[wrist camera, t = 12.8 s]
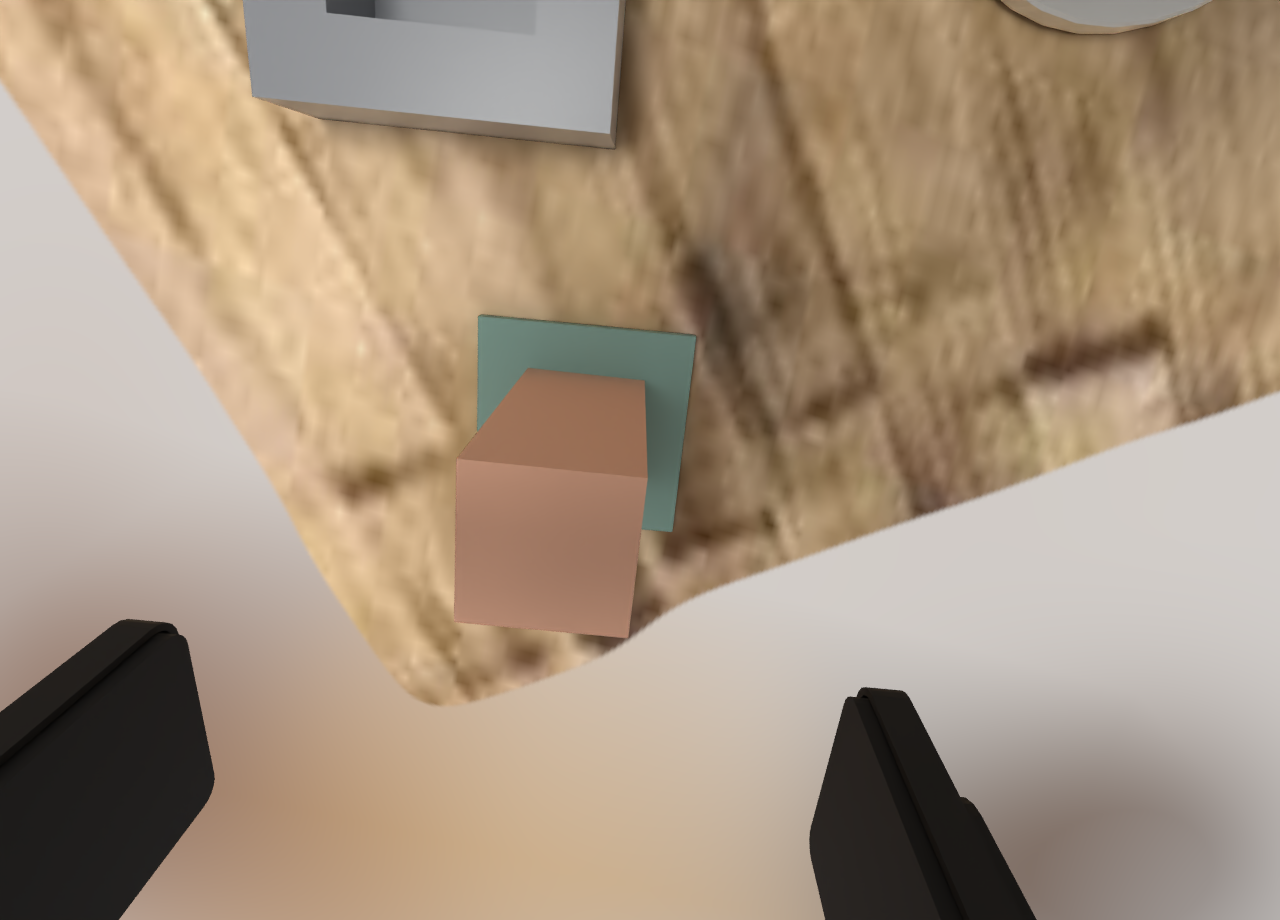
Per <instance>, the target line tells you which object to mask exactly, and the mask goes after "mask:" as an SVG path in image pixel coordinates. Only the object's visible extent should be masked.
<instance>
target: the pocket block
mask: <svg viewBox="0 0 1280 920" xmlns="http://www.w3.org/2000/svg"><path fill="white" fill-rule="evenodd" d="M625 6H626V0H243V7H244V17H245V27H246V38H247V48H248V58H249V68H250V78H251V88H252V97H255V98H258V99H261V100H264V101H267V102H270V103H273V104H276V105H279V106H282V107H285V108H288V109H291V110H294V111H297V112H300V113H303V114H306V115H309V116H312V117H315V118H318V119H326V120H336V121H345V122H355V123H365V124H374V125H384V126H394V127H403V128H413V129H423V130H432V131H442V132H452V133H461V134H471V135H481V136H490V137H500V138H510V139H519V140H529V141H538V142H548V143H558V144H567V145H577V146H587V147H596V148H606V149H615V143H616V130H617V116H618V102H619V89H620V75H621V61H622V47H623V34H624V20H625Z"/></svg>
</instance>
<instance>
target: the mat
mask: <svg viewBox="0 0 1280 920" xmlns="http://www.w3.org/2000/svg"><path fill="white" fill-rule="evenodd" d="M695 343H696V335H693V334H682V333H671V332H661V331H650V330H640V329H629V328H619V327H608V326H598V325H587V324H576V323H566V322H555V321H545V320H534V319H524V318H513V317H502V316H492V315H480V316H478V401H477V432H478V431H479V429H480V428H481V427H482V426H483V424H484V423H485V422H486V420H487V419H488V418H489V417H490V415H491V414H492V413H493V412H494V410H495V409H496V408H497V406H498V405H499V404H500V403H501V401H502V400H503V399H504V398H505V396H506V395H507V394H508V392H509V391H510V390H511V389H512V387H513V386H514V385H515V384H516V382H517V381H518V380H519V378H520V377H521V376H522V375H523V373H524V372H525V371H526V370H527V368H534V369H544V370H553V371H562V372H571V373H581V374H590V375H599V376H608V377H618V378H627V379H636V380H645V407H646V440H647V472H648V480H647V488H646V496H645V504H644V512H643V520H642V529H644V530H656V531H667V532H672V530H673V521H674V513H675V505H676V497H677V489H678V481H679V473H680V465H681V456H682V448H683V440H684V432H685V424H686V416H687V408H688V400H689V392H690V383H691V375H692V367H693V359H694V351H695Z"/></svg>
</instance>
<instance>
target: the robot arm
mask: <svg viewBox="0 0 1280 920" xmlns="http://www.w3.org/2000/svg"><path fill="white" fill-rule="evenodd" d="M1001 1H1002V2H1003V3H1004V4H1005V5H1006V6H1008V7H1009V8H1010V9H1011V10H1013V11H1015V12H1017V13H1019V14H1021V15H1023V16H1025V17H1027V18H1029V19H1031V20H1033V21H1035V22H1037V23H1039V24H1041V25H1043V26H1047V27H1051V28H1056V29H1060V30H1064V31H1068V32H1073V33H1077V34H1116V33H1121V32H1125V31H1130V30H1135V29H1139V28H1144V27H1149V26H1153V25H1156V24H1159V23H1161V22H1164V21H1166V20H1169V19H1171V18H1174V17H1177V16H1179V15H1182V14H1185V13H1188V12H1190V11H1193V10H1195V9H1197V8H1199V7H1201V6H1203V5H1205V4H1207V3H1208V2H1210V1H1212V0H1001ZM214 780H215V778H214V771H213V765H212V761H211V755H210V751H209V746H208V741H207V736H206V731H205V726H204V721H203V716H202V711H201V707H200V701H199V697H198V691H197V687H196V682H195V677H194V672H193V667H192V662H191V657H190V652H189V647H188V643H187V640H186V638H184V636H182V635H179V634H178V631H177V629H176V628H175V627H174V626H173V625H172V624H170V623H165V622H153V621H144V620H133V619H126V620H121V621H119V622H117V623H116V624H114V625H112V626H111V627H110V628H108V629H107V630H106V631H105V632H103V633H102V634H101V635H99V636H98V637H97V638H96V639H94V640H93V641H92V642H91V643H89V644H88V645H86V646H85V647H84V648H83V649H81V650H80V651H79V652H77V653H76V654H75V655H74V656H72V657H71V658H70V659H68V660H67V661H66V662H65V663H63V664H62V665H61V666H59V667H58V668H57V669H55V670H54V671H53V672H52V673H50V674H49V675H48V676H46V677H45V678H44V679H43V680H41V681H40V682H39V683H37V684H36V685H35V686H33V687H32V688H31V689H30V690H28V691H27V692H26V693H24V694H23V695H22V696H21V697H19V698H18V699H17V700H15V701H14V702H13V703H12V704H10V705H9V706H8V707H6V708H5V709H4V710H2V711H1V712H0V920H119V919H120V917H121V916H122V915H123V913H124V912H125V911H126V909H127V908H128V907H129V905H130V904H131V903H132V901H133V900H134V899H135V897H136V896H137V895H138V894H139V892H140V891H141V890H142V888H143V887H144V885H145V884H146V883H147V881H148V880H149V879H150V878H151V876H152V875H153V874H154V872H155V871H156V870H157V868H158V867H159V865H160V864H161V863H162V862H163V860H164V859H165V858H166V856H167V855H168V854H169V852H170V851H171V850H172V848H173V847H174V846H175V844H176V843H177V842H178V840H179V839H180V838H181V836H182V835H183V833H184V832H185V831H186V830H187V828H188V827H189V826H190V824H191V823H192V822H193V820H194V819H195V818H196V816H197V815H198V814H199V812H200V811H201V810H202V808H203V807H204V806H205V804H206V803H207V801H208V799H209V797H210V795H211V793H212V789H213V786H214ZM809 840H810V855H811V861H812V865H813V869H814V873H815V878H816V882H817V886H818V890H819V895H820V898H821V903H822V907H823V912H824V916H825V920H1036V918H1035V916H1034V914H1033V912H1032V910H1031V909H1030V906H1029V905H1028V903H1027V901H1026V899H1025V897H1024V896H1023V893H1022V891H1021V890H1020V888H1019V886H1018V884H1017V882H1016V880H1015V878H1014V876H1013V874H1012V873H1011V871H1010V869H1009V867H1008V865H1007V863H1006V861H1005V859H1004V857H1003V856H1002V854H1001V852H1000V850H999V848H998V846H997V844H996V843H995V840H994V839H993V837H992V835H991V833H990V831H989V829H988V827H987V825H986V824H985V822H984V820H983V818H982V816H981V814H980V813H979V812H978V810H977V808H976V807H975V806H974V804H973V803H972V802H970V801H969V800H968V799H967V798H964V797H960V796H959V794H958V792H957V790H956V788H955V786H954V784H953V782H952V780H951V778H950V776H949V774H948V772H947V770H946V768H945V766H944V764H943V762H942V760H941V759H940V757H939V755H938V753H937V751H936V749H935V747H934V745H933V743H932V741H931V739H930V737H929V735H928V733H927V731H926V729H925V727H924V725H923V723H922V721H921V719H920V717H919V715H918V713H917V711H916V710H915V708H914V706H913V704H912V702H911V700H910V698H909V697H908V695H907V694H906V693H905V692H903V691H900V690H888V689H878V688H867V687H865V688H861V689H860V690H859V692H858V694H857V697H847V699H846V700H845V703H844V706H843V710H842V714H841V717H840V721H839V725H838V728H837V732H836V736H835V739H834V743H833V747H832V751H831V754H830V758H829V762H828V765H827V769H826V773H825V777H824V780H823V784H822V788H821V792H820V796H819V799H818V803H817V807H816V810H815V814H814V818H813V821H812V825H811V830H810V839H809Z"/></svg>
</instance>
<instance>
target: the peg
mask: <svg viewBox="0 0 1280 920" xmlns="http://www.w3.org/2000/svg"><path fill="white" fill-rule="evenodd" d="M647 480H648V472H647V440H646V407H645V380H636V379H627V378H618V377H608V376H599V375H590V374H581V373H571V372H562V371H553V370H544V369H534V368H527V370H526V371H525V372H524V373H523V375H522V376H521V377H520V378H519V380H518V381H517V382H516V384H515V385H514V386H513V387H512V389H511V390H510V391H509V392H508V394H507V395H506V396H505V398H504V399H503V400H502V401H501V403H500V404H499V405H498V406H497V408H496V409H495V410H494V412H493V413H492V414H491V415H490V417H489V418H488V419H487V420H486V422H485V423H484V424H483V426H482V427H481V428H480V429H479V431H478V432H477V433H476V434H475V436H474V437H473V438H472V440H471V441H470V442H469V443H468V445H467V446H466V447H465V448H464V450H463V451H462V452H461V454H460V455H459V456H458V457H457V459H456V529H455V602H454V622H460V623H470V624H481V625H492V626H503V627H513V628H524V629H535V630H546V631H556V632H567V633H578V634H589V635H599V636H610V637H621V638H628V634H629V626H630V618H631V610H632V602H633V594H634V586H635V577H636V569H637V561H638V553H639V545H640V537H641V529H642V520H643V512H644V504H645V496H646V488H647Z"/></svg>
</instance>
